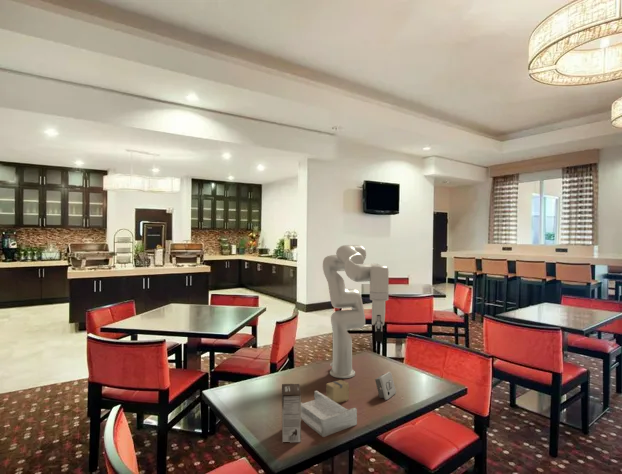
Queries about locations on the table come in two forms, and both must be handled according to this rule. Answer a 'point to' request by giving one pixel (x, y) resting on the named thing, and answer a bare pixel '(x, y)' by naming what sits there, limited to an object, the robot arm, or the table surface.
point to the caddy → (327, 415)
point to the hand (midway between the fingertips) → (379, 337)
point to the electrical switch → (385, 386)
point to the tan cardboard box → (338, 391)
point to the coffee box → (291, 413)
